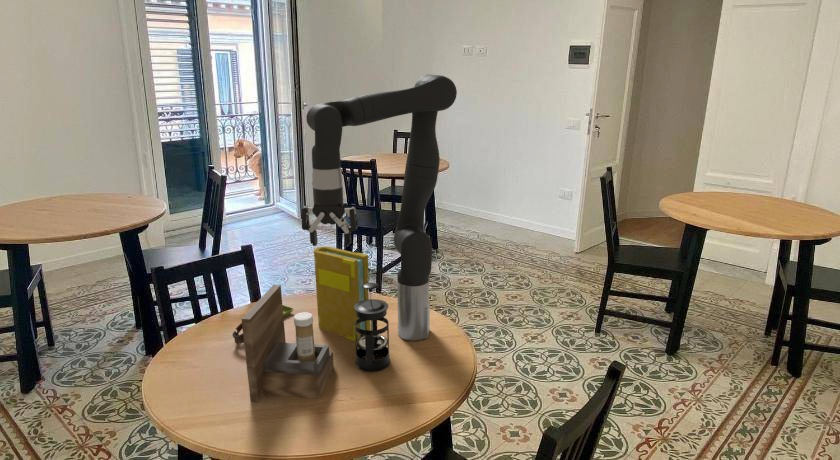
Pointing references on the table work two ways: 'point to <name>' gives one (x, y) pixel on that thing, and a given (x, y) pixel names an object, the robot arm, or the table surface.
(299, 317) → the sprinkles bottle
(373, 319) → the french press
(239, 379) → the table surface
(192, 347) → the table surface
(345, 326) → the book
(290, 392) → the brown wooden holder
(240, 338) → the pottery mug
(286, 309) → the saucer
